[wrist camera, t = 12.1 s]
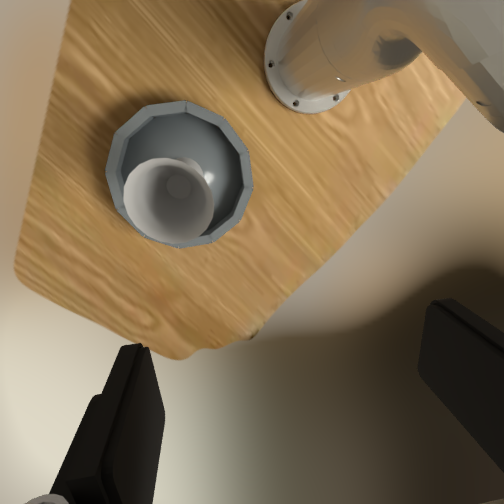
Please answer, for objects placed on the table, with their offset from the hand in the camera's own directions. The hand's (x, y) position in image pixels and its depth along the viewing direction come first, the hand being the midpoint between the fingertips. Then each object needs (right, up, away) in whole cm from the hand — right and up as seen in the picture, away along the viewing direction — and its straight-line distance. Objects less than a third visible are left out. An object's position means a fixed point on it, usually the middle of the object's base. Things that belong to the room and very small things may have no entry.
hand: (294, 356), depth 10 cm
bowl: (-11, +14, +32) cm, 37 cm away
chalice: (-11, +14, +32) cm, 36 cm away
